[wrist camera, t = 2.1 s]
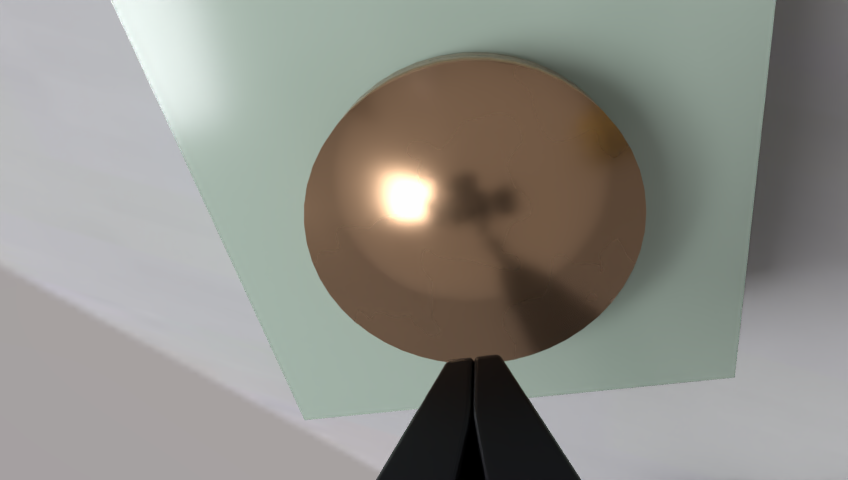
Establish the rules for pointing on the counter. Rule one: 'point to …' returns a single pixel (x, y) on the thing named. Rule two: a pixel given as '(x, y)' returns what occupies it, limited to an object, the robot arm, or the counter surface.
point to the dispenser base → (447, 34)
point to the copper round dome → (474, 208)
